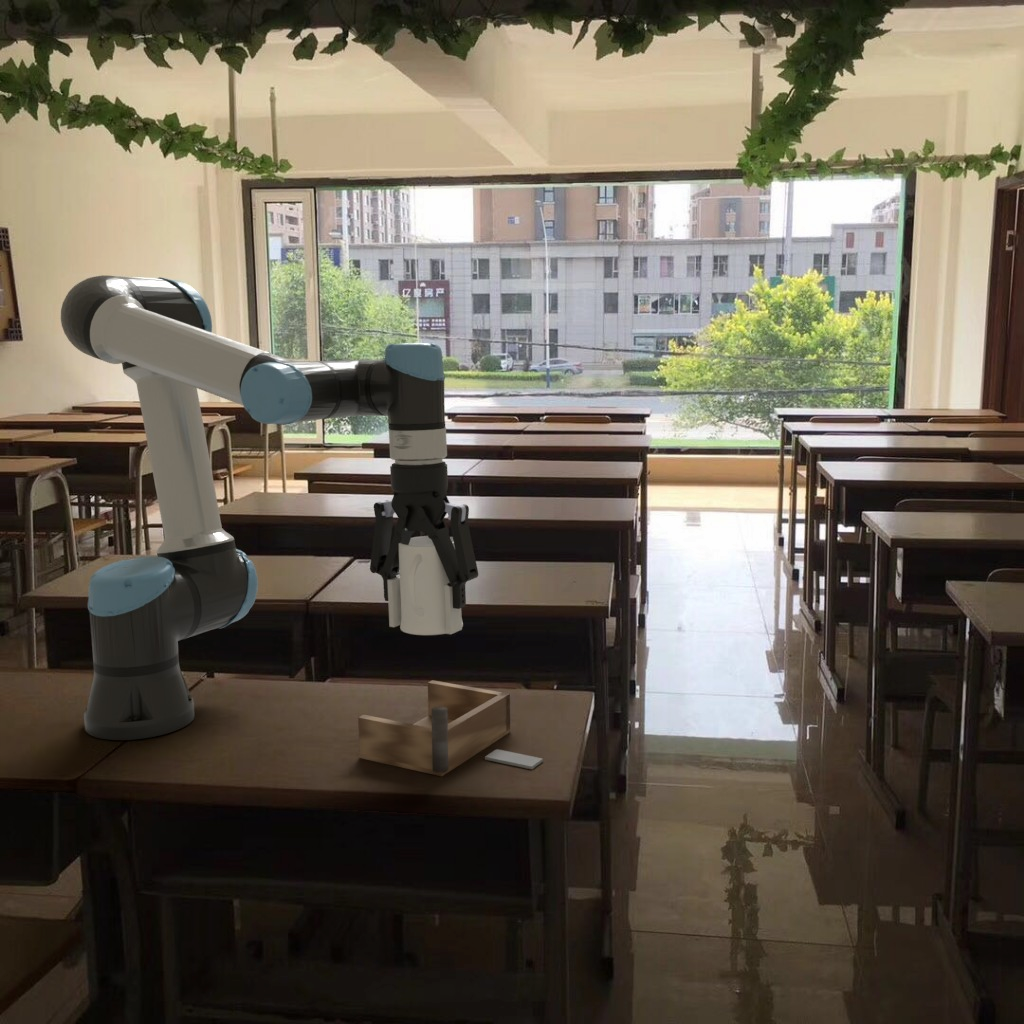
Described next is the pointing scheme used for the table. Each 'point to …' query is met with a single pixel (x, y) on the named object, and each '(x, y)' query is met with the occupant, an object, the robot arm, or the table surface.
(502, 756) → the grey rectangular slab
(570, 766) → the table surface
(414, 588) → the mug
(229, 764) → the table surface
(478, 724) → the keeper cradle
